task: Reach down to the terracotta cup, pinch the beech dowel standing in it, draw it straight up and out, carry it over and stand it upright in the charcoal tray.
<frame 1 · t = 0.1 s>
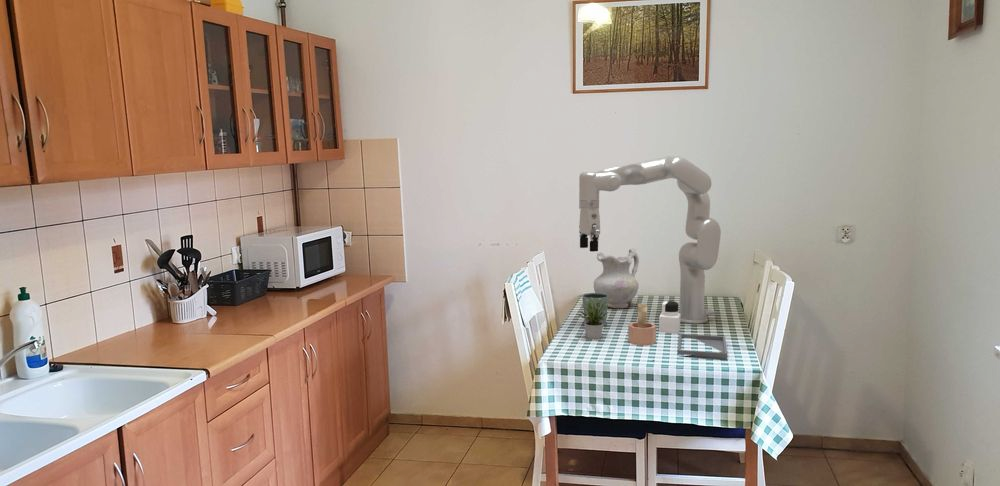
hand: (588, 249, 277), 31 cm above the table, fingers open, 9 cm apart
dowel: (641, 341, 259), point 1 cm above the table, touching cup
house plant: (597, 340, 266), on the table
ceramic pitcher: (617, 305, 322), on the table
medicine bottle: (669, 333, 275), on the table
blue-grey plant pot: (594, 325, 288), on the table
tray: (702, 349, 253), on the table
cup: (641, 344, 260), on the table
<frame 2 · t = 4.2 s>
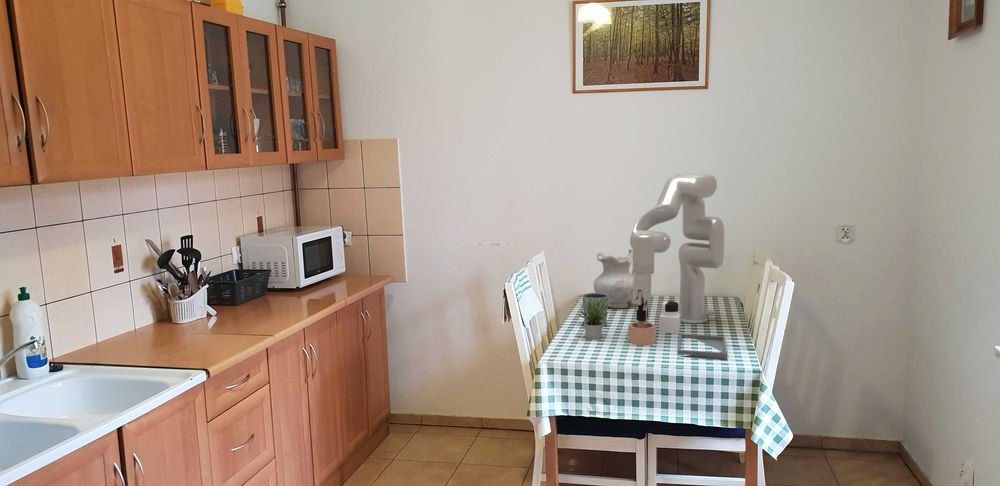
hand: (642, 319, 258), 9 cm above the table, fingers closed on dowel, 3 cm apart
dowel: (641, 341, 259), point 1 cm above the table, touching cup, gripper
everything else where it was.
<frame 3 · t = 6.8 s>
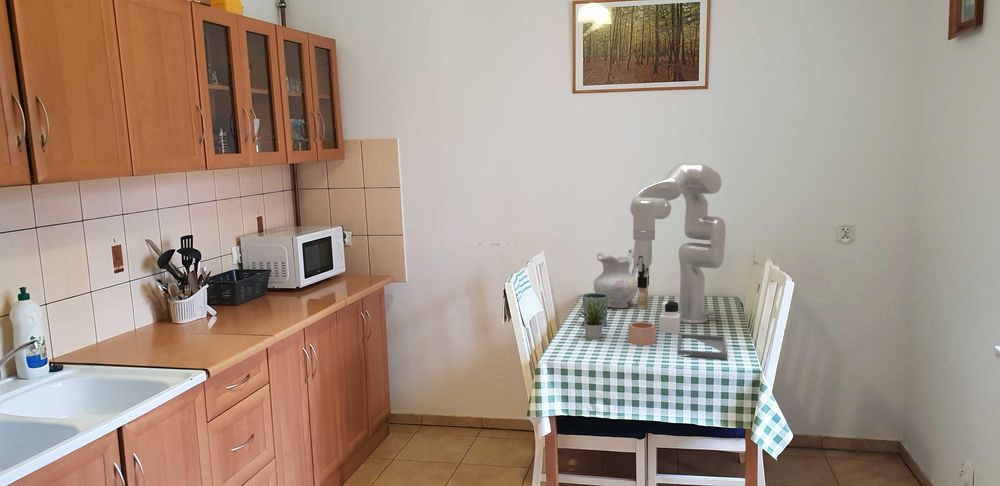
hand: (643, 286, 257), 21 cm above the table, fingers closed on dowel, 3 cm apart
dowel: (642, 308, 258), point 13 cm above the table, touching gripper
everything else where it was.
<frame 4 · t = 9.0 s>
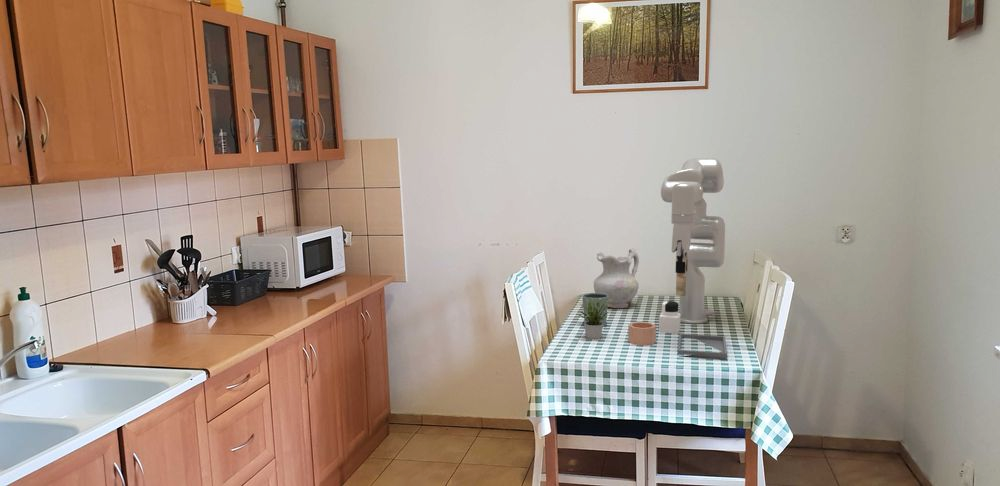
hand: (681, 271, 251), 27 cm above the table, fingers closed on dowel, 3 cm apart
dowel: (680, 294, 253), point 19 cm above the table, touching gripper
everything else where it was.
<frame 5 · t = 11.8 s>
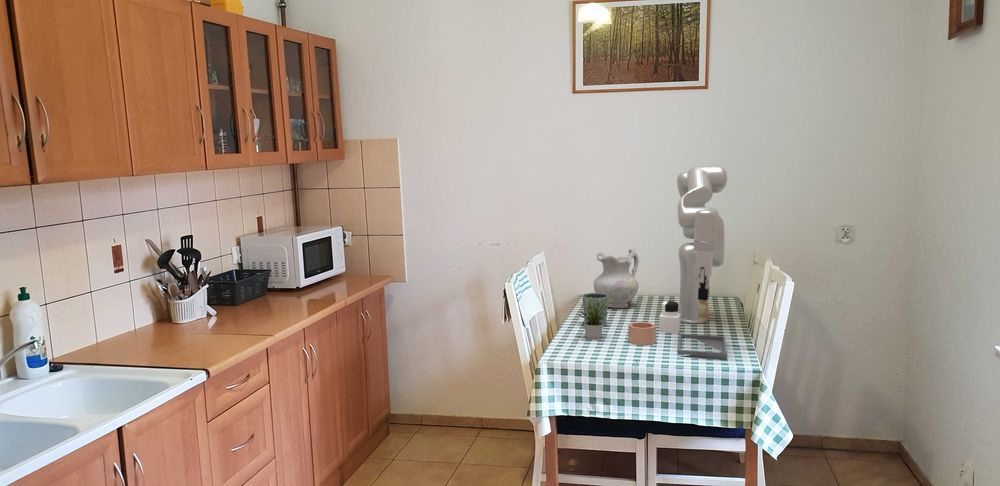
hand: (703, 298, 250), 18 cm above the table, fingers closed on dowel, 3 cm apart
dowel: (702, 321, 251), point 10 cm above the table, touching gripper
everything else where it was.
when the fingers open (10 cm above the table, at t = 14.1 s): dowel stays where it is, resting on tray.
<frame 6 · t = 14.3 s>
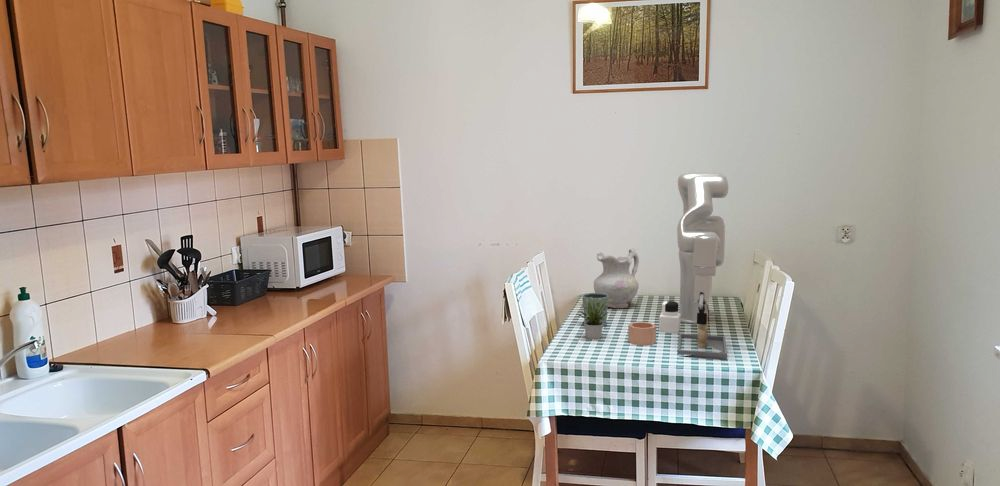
hand: (702, 321, 251), 10 cm above the table, fingers open, 5 cm apart
dowel: (702, 347, 252), point 1 cm above the table, touching tray
everything else where it was.
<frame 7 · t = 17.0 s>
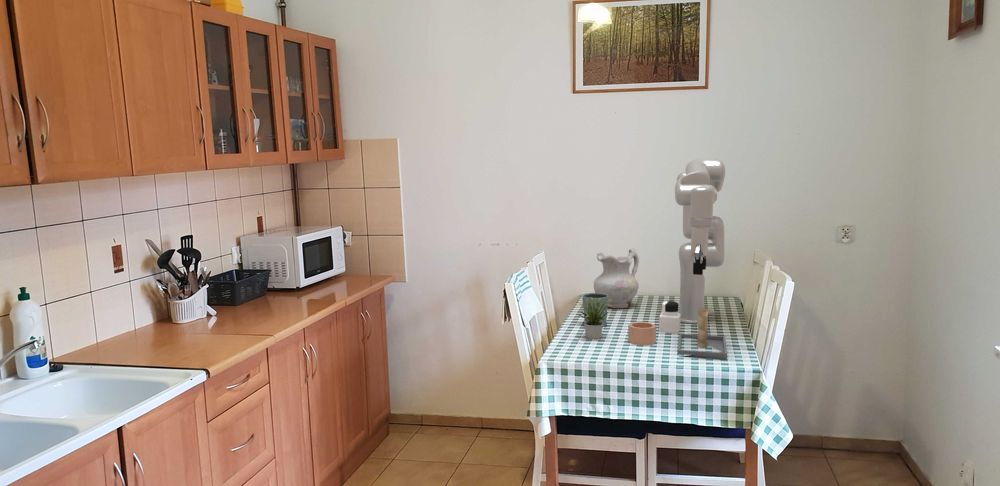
hand: (699, 271, 251), 27 cm above the table, fingers open, 9 cm apart
nothing on the table moved.
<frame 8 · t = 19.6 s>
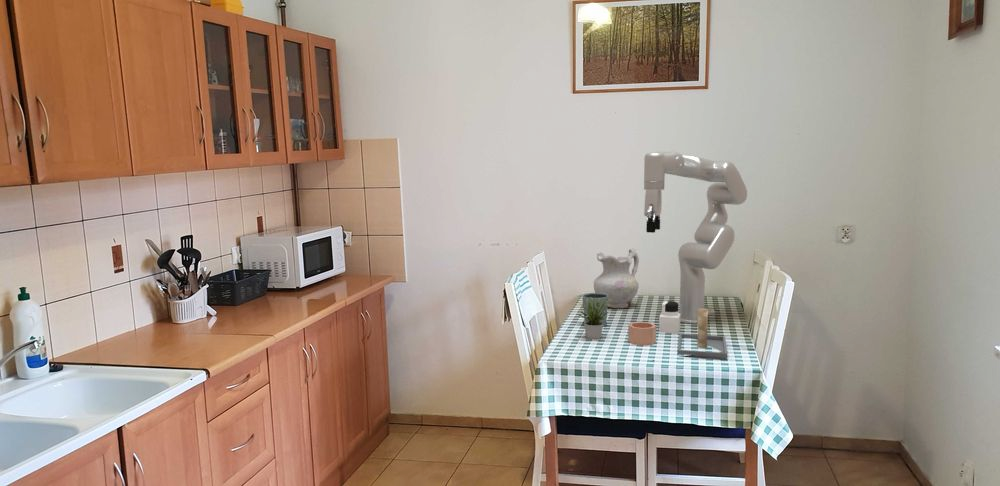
hand: (653, 230, 275), 38 cm above the table, fingers open, 9 cm apart
nothing on the table moved.
at the end: dowel inside the target area on the tray (0.0 cm from its centre), point 0.8 cm above the tray's base; dowel tilted 0°; the gripper is holding nothing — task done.
